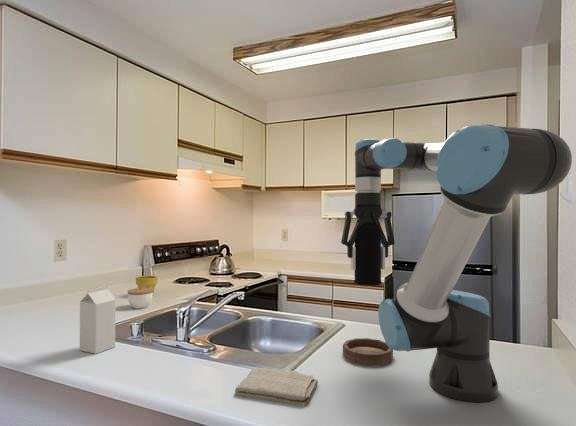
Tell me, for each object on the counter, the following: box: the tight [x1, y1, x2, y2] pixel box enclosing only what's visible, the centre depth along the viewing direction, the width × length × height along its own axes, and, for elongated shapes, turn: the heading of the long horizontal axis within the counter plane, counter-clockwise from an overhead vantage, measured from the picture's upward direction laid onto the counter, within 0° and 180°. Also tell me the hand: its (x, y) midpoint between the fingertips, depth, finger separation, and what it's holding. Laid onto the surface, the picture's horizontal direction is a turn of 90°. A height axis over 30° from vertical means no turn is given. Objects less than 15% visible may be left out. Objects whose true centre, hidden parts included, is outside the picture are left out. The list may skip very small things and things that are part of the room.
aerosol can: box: [353, 223, 383, 287], centre depth 113 cm, size 8×8×20 cm
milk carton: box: [79, 285, 116, 355], centre depth 118 cm, size 7×7×19 cm
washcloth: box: [234, 366, 319, 406], centre depth 91 cm, size 12×18×3 cm, turn 74°
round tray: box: [342, 337, 394, 367], centre depth 113 cm, size 14×14×3 cm
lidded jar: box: [127, 286, 154, 310], centre depth 172 cm, size 11×11×9 cm
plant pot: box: [135, 275, 158, 295], centre depth 195 cm, size 10×10×10 cm
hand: (367, 268), depth 113 cm, fingers closed on aerosol can, 8 cm apart
